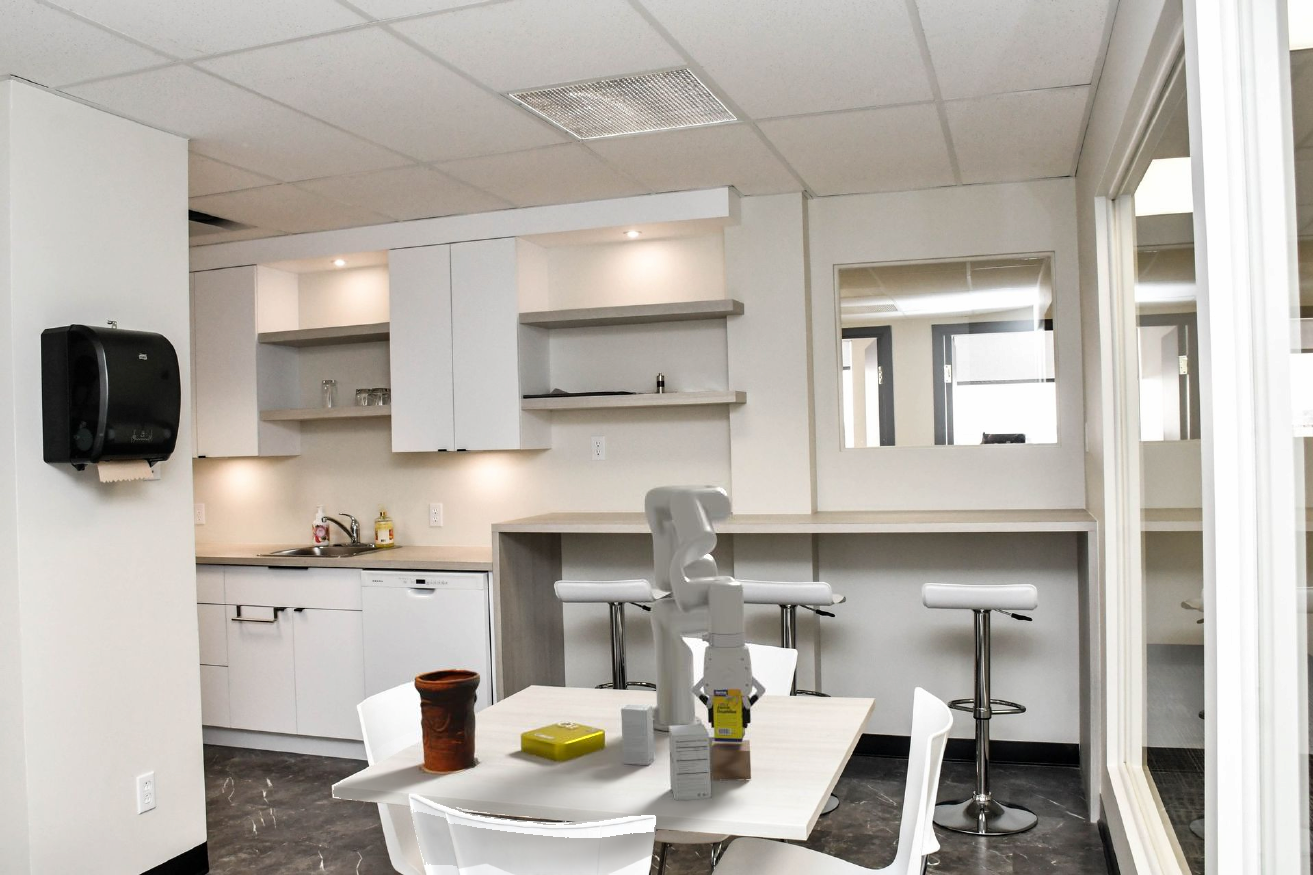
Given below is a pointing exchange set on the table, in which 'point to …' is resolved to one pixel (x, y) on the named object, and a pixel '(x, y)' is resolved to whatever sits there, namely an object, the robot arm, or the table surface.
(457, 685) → the vessel
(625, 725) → the skincare box
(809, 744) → the table surface
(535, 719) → the table surface
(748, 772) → the walnut block
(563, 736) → the element tile
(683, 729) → the supplement box
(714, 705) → the supplement box
